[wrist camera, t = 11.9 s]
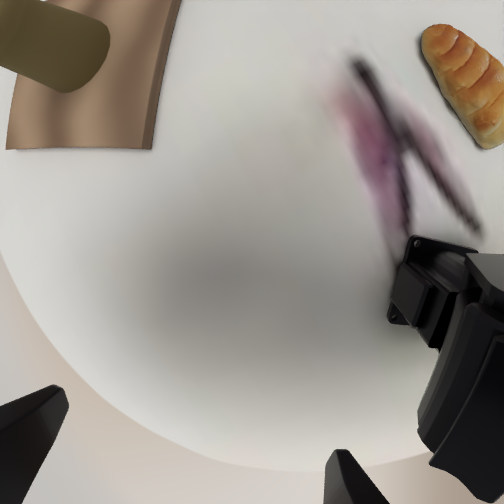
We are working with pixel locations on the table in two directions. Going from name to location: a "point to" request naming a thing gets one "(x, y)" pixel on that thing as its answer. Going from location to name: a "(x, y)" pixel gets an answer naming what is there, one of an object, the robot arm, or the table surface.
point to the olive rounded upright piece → (51, 43)
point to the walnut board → (102, 84)
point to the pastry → (468, 81)
